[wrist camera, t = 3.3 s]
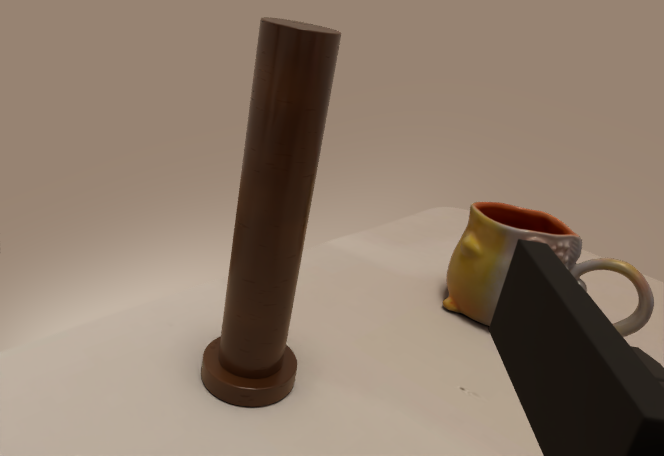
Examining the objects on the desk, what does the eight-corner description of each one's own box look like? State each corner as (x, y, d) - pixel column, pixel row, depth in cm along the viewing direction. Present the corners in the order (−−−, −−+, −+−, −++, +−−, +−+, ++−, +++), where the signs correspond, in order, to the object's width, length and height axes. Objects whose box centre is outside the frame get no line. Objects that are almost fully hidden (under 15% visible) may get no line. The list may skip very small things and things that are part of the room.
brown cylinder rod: (208, 411, 25) (256, 23, 19) (195, 350, 29) (231, 9, 23) (305, 402, 27) (378, 42, 20) (280, 345, 30) (336, 26, 24)
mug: (423, 303, 37) (450, 208, 35) (462, 272, 43) (488, 187, 40) (619, 394, 32) (668, 289, 29) (634, 344, 37) (677, 252, 35)
